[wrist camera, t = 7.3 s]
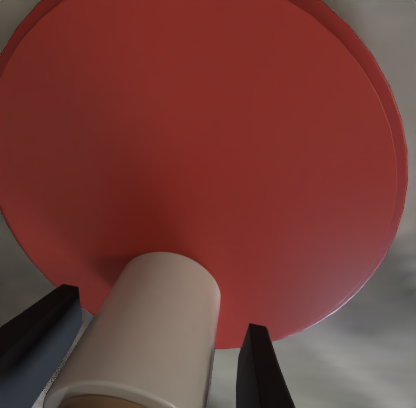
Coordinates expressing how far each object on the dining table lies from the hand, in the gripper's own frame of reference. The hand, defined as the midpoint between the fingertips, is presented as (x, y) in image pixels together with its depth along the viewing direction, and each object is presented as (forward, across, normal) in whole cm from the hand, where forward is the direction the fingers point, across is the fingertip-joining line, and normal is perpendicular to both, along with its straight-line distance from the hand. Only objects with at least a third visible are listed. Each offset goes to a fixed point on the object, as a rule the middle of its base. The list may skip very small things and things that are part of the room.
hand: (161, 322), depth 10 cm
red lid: (+3, 0, -4) cm, 5 cm away
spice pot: (+1, 0, 0) cm, 1 cm away
